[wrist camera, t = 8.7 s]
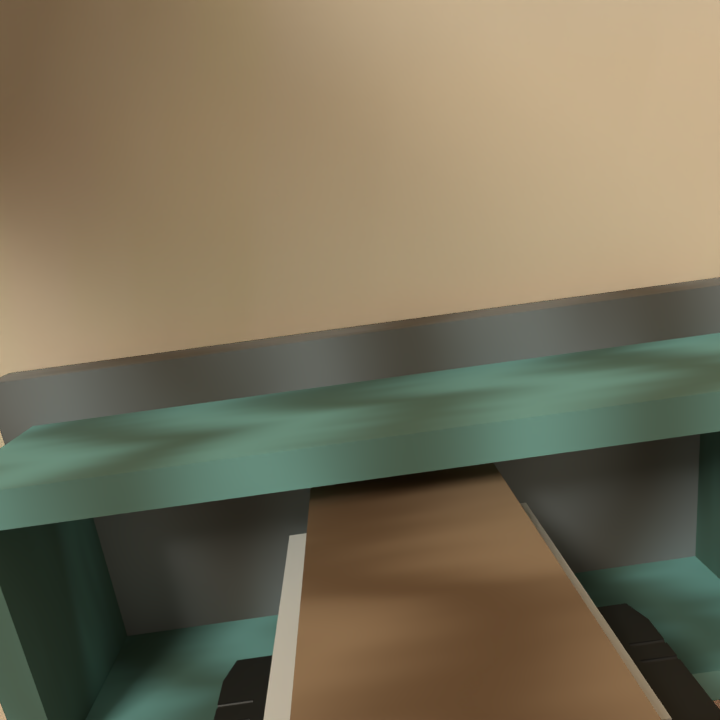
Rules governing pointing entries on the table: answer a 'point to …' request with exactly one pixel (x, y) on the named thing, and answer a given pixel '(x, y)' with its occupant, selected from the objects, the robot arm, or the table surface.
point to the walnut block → (445, 610)
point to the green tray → (342, 465)
